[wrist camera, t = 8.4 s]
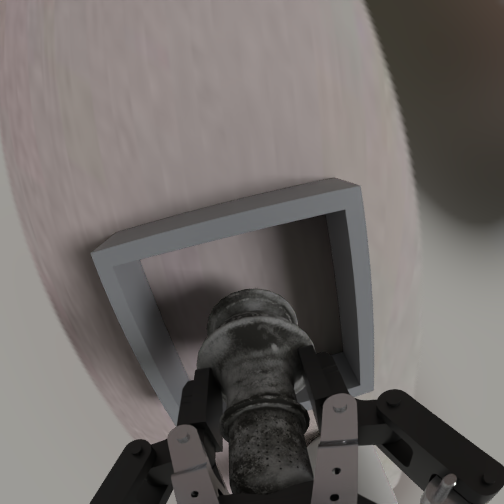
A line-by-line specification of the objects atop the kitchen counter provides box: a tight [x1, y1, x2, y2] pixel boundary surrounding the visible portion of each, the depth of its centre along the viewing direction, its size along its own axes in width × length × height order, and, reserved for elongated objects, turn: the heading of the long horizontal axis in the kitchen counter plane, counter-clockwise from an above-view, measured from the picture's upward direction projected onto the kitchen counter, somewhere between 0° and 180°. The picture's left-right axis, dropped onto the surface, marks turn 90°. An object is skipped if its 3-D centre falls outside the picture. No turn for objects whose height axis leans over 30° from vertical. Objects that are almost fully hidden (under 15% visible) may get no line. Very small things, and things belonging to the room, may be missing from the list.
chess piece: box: [197, 289, 315, 495], centre depth 12 cm, size 6×6×12 cm
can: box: [307, 436, 398, 504], centre depth 21 cm, size 8×8×12 cm
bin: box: [90, 178, 374, 427], centre depth 19 cm, size 14×14×4 cm
